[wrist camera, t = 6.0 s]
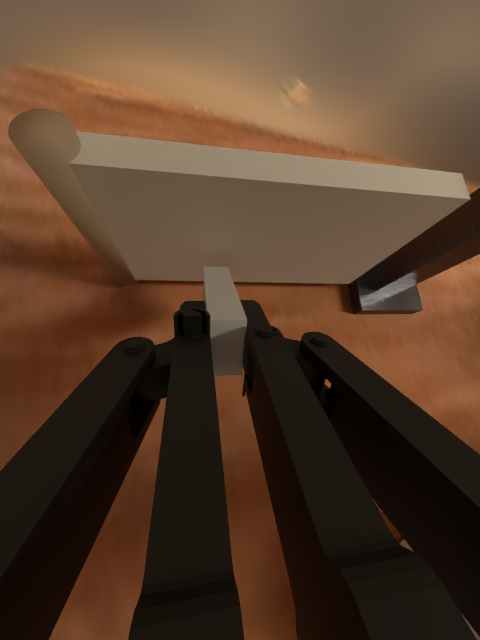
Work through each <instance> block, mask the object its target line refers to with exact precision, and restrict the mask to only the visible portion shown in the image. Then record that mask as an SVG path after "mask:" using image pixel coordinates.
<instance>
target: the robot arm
mask: <svg viewBox="0 0 480 640" xmlns="http://www.w3.org/2000/svg"><path fill="white" fill-rule="evenodd" d="M173 316H174V331H175V337H174V338H173V339H172V340H170V341H168V342H165V343H162V344H158V345H154V343H153V341H151V340H150V339H148V338H144V337H132V338H128V339H125V340H123V341H120V342H119V343H118V344H116V345H115V346H114V347H113V348H112V349H111V351H110V352H109V353H108V354H107V355H106V356H105V357H104V358H103V359H102V360H101V362H100V363H99V364H98V365H97V366H96V367H95V368H94V369H93V370H92V371H91V372H90V374H89V375H88V376H87V377H86V378H85V379H84V380H83V381H82V382H81V383H80V384H79V386H78V387H77V388H76V389H75V390H74V391H73V392H72V393H71V394H70V395H69V397H68V398H67V399H66V400H65V401H64V402H63V403H62V404H61V405H60V406H59V407H58V409H57V410H56V411H55V412H54V413H53V414H52V415H51V416H50V417H49V418H48V419H47V421H46V422H45V423H44V424H43V425H42V426H41V427H40V428H39V429H38V430H37V432H36V433H35V434H34V435H33V436H32V437H31V438H30V439H29V440H28V441H27V442H26V444H25V445H24V446H23V447H22V448H21V449H20V450H19V451H18V452H17V453H16V455H15V456H14V457H13V458H12V459H11V460H10V461H9V462H8V463H7V464H6V465H5V467H4V468H3V469H2V470H1V471H0V640H49V638H50V635H51V633H52V631H53V629H54V627H55V625H56V623H57V621H58V618H59V616H60V614H61V612H62V610H63V608H64V606H65V604H66V601H67V599H68V597H69V595H70V593H71V591H72V589H73V587H74V584H75V582H76V580H77V578H78V576H79V574H80V572H81V570H82V568H83V565H84V563H85V561H86V559H87V557H88V555H89V553H90V551H91V548H92V546H93V544H94V542H95V540H96V538H97V536H98V534H99V531H100V529H101V527H102V525H103V523H104V521H105V519H106V517H107V514H108V512H109V510H110V508H111V506H112V504H113V502H114V500H115V497H116V495H117V493H118V491H119V489H120V487H121V485H122V483H123V480H124V478H125V476H126V474H127V472H128V470H129V468H130V466H131V463H132V461H133V459H134V457H135V455H136V453H137V451H138V449H139V446H140V444H141V442H142V440H143V438H144V436H145V434H146V432H147V430H148V427H149V425H150V423H151V421H152V419H153V417H154V415H155V413H156V410H157V408H158V406H159V404H160V399H162V398H165V397H167V399H166V407H165V415H164V423H163V431H162V439H161V446H160V454H159V462H158V470H157V478H156V485H155V493H154V501H153V509H152V517H151V525H150V532H149V540H148V548H147V556H146V564H145V572H144V579H143V585H142V590H141V594H140V598H139V600H138V603H137V605H136V608H135V610H134V615H133V619H132V623H131V628H130V633H129V639H128V640H244V634H243V625H242V617H241V609H240V602H239V596H238V590H237V586H236V582H235V578H234V572H233V565H232V555H231V545H230V535H229V524H228V514H227V504H226V494H225V483H224V473H223V463H222V452H221V442H220V432H219V421H218V411H217V401H216V390H215V380H214V376H220V375H239V374H242V369H243V368H244V372H245V374H244V384H243V394H242V396H245V392H246V394H247V399H248V403H249V407H250V412H251V416H252V420H253V425H254V429H255V433H256V438H257V442H258V446H259V451H260V455H261V459H262V464H263V468H264V472H265V477H266V481H267V485H268V490H269V494H270V498H271V503H272V507H273V511H274V516H275V520H276V524H277V529H278V533H279V537H280V542H281V546H282V550H283V555H284V559H285V563H286V568H287V572H288V576H289V581H290V585H291V589H292V594H293V599H294V604H295V611H296V631H297V639H298V640H477V639H476V637H475V635H474V634H473V632H472V630H471V629H470V627H469V625H468V624H467V622H466V620H467V621H468V623H469V624H470V625H471V626H472V628H473V629H474V630H475V632H476V633H477V634H478V636H479V637H480V455H479V454H478V453H477V452H476V451H474V450H473V449H472V448H470V447H469V446H468V445H467V444H465V443H464V442H463V441H462V440H460V439H459V438H458V437H457V436H455V435H454V434H453V433H451V432H450V431H449V430H448V429H446V428H445V427H444V426H443V425H441V424H440V423H439V422H438V421H436V420H435V419H434V418H433V417H431V416H430V415H429V414H427V413H426V412H425V411H424V410H422V409H421V408H420V407H419V406H417V405H416V404H415V403H414V402H412V401H411V400H410V399H408V398H407V397H406V396H405V395H403V394H402V393H401V392H400V391H398V390H397V389H396V388H395V387H393V386H392V385H391V384H389V383H388V382H387V381H386V380H384V379H383V378H382V377H381V376H379V375H378V374H377V373H376V372H374V371H373V370H372V369H370V368H369V367H368V366H367V365H365V364H364V363H363V362H362V361H360V360H359V359H358V358H357V357H355V356H354V355H353V354H351V353H350V352H349V351H348V350H346V349H345V348H344V347H343V346H341V345H340V344H339V343H338V342H336V341H335V340H334V339H332V338H331V337H329V336H328V335H325V334H323V333H320V332H308V333H305V334H304V335H303V336H302V338H301V341H298V340H292V339H287V338H284V337H283V335H282V333H281V332H280V330H279V329H277V328H276V327H274V326H270V324H269V322H268V320H267V318H266V316H265V315H264V312H263V311H262V308H261V306H260V304H258V303H257V302H255V301H254V300H240V299H239V296H238V293H237V290H236V288H235V285H234V282H233V279H232V277H231V274H230V271H229V268H228V267H203V301H185V302H184V303H183V304H182V305H181V306H180V310H178V311H177V312H175V314H174V315H173ZM326 379H327V380H328V381H329V382H330V383H331V387H330V388H329V387H327V386H326V385H325V384H324V383H325V380H326ZM370 495H371V496H370ZM372 498H373V499H374V501H375V502H376V503H377V504H378V506H379V507H380V508H381V510H382V511H383V512H384V514H385V515H386V516H387V517H388V519H389V520H390V521H391V523H392V524H393V525H394V527H395V528H396V529H397V530H398V532H399V533H400V534H401V536H402V537H403V538H404V540H405V541H406V542H407V543H408V545H409V546H410V547H411V549H412V550H413V551H414V552H413V551H411V550H409V549H407V548H405V547H403V546H401V545H400V544H399V542H398V541H397V540H396V539H395V538H394V536H393V535H392V533H391V532H390V530H389V529H388V527H387V525H386V523H385V521H384V519H383V518H382V516H381V514H380V512H379V510H378V508H377V507H376V505H375V503H374V501H373V499H372ZM462 615H463V616H464V617H465V619H466V620H465V619H464V617H463V616H462Z"/></svg>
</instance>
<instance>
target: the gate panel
mask: <svg viewBox="0 0 480 640" xmlns="http://www.w3.org/2000/svg"><path fill="white" fill-rule="evenodd" d="M8 134H9V137H10V139H11V141H12V142H13V144H14V145H15V146H16V148H17V149H18V150H19V152H20V153H21V154H22V156H23V157H24V158H25V160H26V161H27V162H28V164H29V165H30V166H31V168H32V169H33V170H34V172H35V173H36V174H37V175H38V177H39V178H40V179H41V181H42V182H43V183H44V185H45V186H46V187H47V189H48V190H49V191H50V193H51V194H52V195H53V197H54V198H55V199H56V201H57V202H58V203H59V205H60V206H61V207H62V209H63V210H64V211H65V213H66V214H67V215H68V217H69V218H70V219H71V221H72V222H73V223H74V225H75V226H76V227H77V228H78V230H79V231H80V232H81V234H82V235H83V236H84V238H85V239H86V240H87V242H88V243H89V244H90V246H91V247H92V248H93V250H94V251H95V252H96V254H97V255H98V256H99V258H100V259H101V260H102V262H103V263H104V264H105V266H106V267H107V268H108V270H109V271H110V272H111V274H112V275H113V276H114V278H115V279H116V280H117V281H118V282H119V283H120V284H122V285H127V286H128V285H134V284H136V283H137V282H138V281H139V280H168V281H203V267H228V268H229V271H230V274H231V277H232V279H233V282H272V283H324V284H350V283H351V282H353V281H354V280H355V279H357V278H358V277H360V276H361V275H363V274H364V273H366V272H367V271H368V270H370V269H371V268H373V267H374V266H376V265H377V264H378V263H380V262H381V261H383V260H384V259H386V258H387V257H388V256H390V255H391V254H393V253H394V252H396V251H397V250H398V249H400V248H401V247H403V246H404V245H406V244H407V243H409V242H410V241H411V240H413V239H414V238H416V237H417V236H419V235H420V234H421V233H423V232H424V231H426V230H427V229H429V228H430V227H431V226H433V225H434V224H436V223H437V222H439V221H440V220H441V219H443V218H444V217H446V216H447V215H449V214H450V213H452V212H453V211H454V210H456V209H457V208H459V207H460V206H462V205H463V204H464V203H466V202H467V201H469V200H470V196H469V193H468V190H467V187H466V184H465V181H464V178H463V176H462V174H461V173H453V172H444V171H435V170H426V169H416V168H407V167H398V166H389V165H380V164H371V163H362V162H352V161H343V160H334V159H325V158H316V157H307V156H298V155H288V154H279V153H270V152H261V151H252V150H243V149H234V148H225V147H215V146H206V145H197V144H188V143H179V142H170V141H161V140H151V139H142V138H133V137H124V136H115V135H106V134H97V133H87V132H78V131H75V129H74V126H73V124H72V123H71V121H70V120H69V119H68V118H67V117H66V116H64V115H63V114H61V113H59V112H56V111H53V110H48V109H33V110H29V111H26V112H23V113H21V114H19V115H18V116H16V117H15V118H14V119H13V120H12V122H11V123H10V125H9V129H8Z"/></svg>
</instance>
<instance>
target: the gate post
mask: <svg viewBox="0 0 480 640" xmlns="http://www.w3.org/2000/svg"><path fill="white" fill-rule="evenodd" d="M469 196H470V200H469V201H467V202H466V203H464V204H463V205H462V206H460V207H459V208H457V209H456V210H454V211H453V212H452V213H450V214H449V215H447V216H446V217H444V218H443V219H441V220H440V221H439V222H437V223H436V224H434V225H433V226H431V227H430V228H429V229H427V230H426V231H424V232H423V233H421V234H420V235H419V236H417V237H416V238H414V239H413V240H411V241H410V242H409V243H407V244H406V245H404V246H403V247H401V248H400V249H398V250H397V251H396V252H394V253H393V254H391V255H390V256H388V257H387V258H386V259H384V260H383V261H381V262H380V263H378V264H377V265H376V266H374V267H373V268H371V269H370V270H368V271H367V272H366V273H364V274H363V275H361V276H360V277H358V278H357V279H355V280H354V281H353V282H351V283H350V284H348V285H349V290H350V296H351V302H352V307H353V313H354V314H413V313H416V312H419V311H422V310H423V309H422V305H421V301H420V297H419V293H418V289H417V285H416V284H418V283H420V282H422V281H424V280H426V279H428V278H430V277H433V276H435V275H437V274H439V273H441V272H443V271H445V270H447V269H449V268H451V267H453V266H455V265H458V264H460V263H462V262H464V261H466V260H468V259H470V258H472V257H474V256H476V255H478V254H480V188H479V189H477V190H476V191H474V192H473V193H472V194H470V195H469Z"/></svg>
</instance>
